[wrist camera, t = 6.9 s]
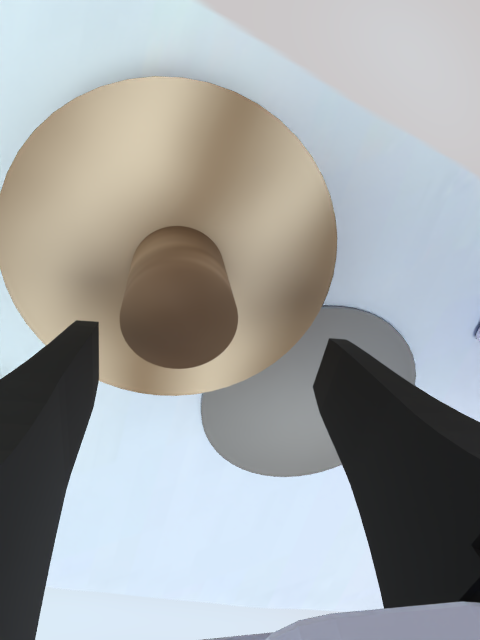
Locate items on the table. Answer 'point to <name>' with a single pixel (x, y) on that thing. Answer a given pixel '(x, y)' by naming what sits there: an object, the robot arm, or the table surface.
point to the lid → (168, 233)
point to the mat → (295, 398)
